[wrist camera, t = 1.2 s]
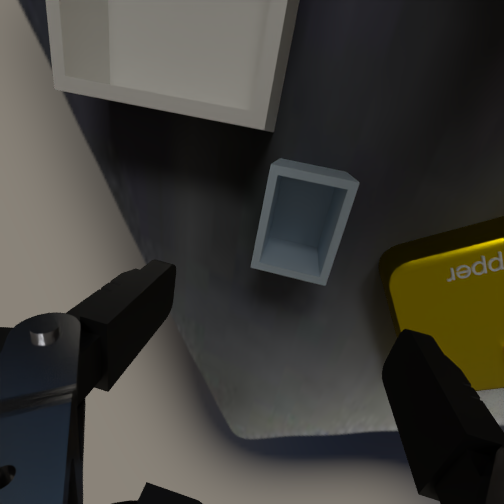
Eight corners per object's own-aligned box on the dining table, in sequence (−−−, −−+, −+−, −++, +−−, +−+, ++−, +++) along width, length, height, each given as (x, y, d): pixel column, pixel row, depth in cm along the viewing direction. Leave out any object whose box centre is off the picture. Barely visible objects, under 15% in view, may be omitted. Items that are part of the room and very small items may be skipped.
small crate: (346, 171, 24) (359, 182, 18) (321, 252, 28) (325, 285, 21) (280, 158, 25) (270, 164, 19) (263, 238, 28) (250, 267, 22)
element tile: (564, 197, 22) (626, 211, 18) (570, 342, 27) (622, 382, 22) (372, 249, 27) (385, 270, 23) (404, 366, 31) (420, 403, 27)
